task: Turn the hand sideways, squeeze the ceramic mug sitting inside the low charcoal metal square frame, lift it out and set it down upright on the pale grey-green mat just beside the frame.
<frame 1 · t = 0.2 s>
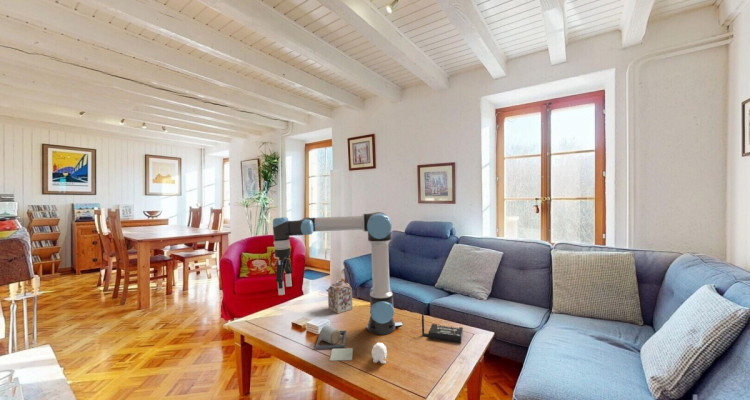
hand: (285, 290, 158), 27 cm above the table, tool pointing down, fingers open, 13 cm apart
decorative jar: (340, 309, 203), on the table
grey-green mat: (341, 354, 147), on the table
white figurine: (380, 359, 142), on the table
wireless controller: (442, 337, 163), on the table
square frame: (331, 340, 160), on the table
ceramic mug: (332, 341, 161), on the table
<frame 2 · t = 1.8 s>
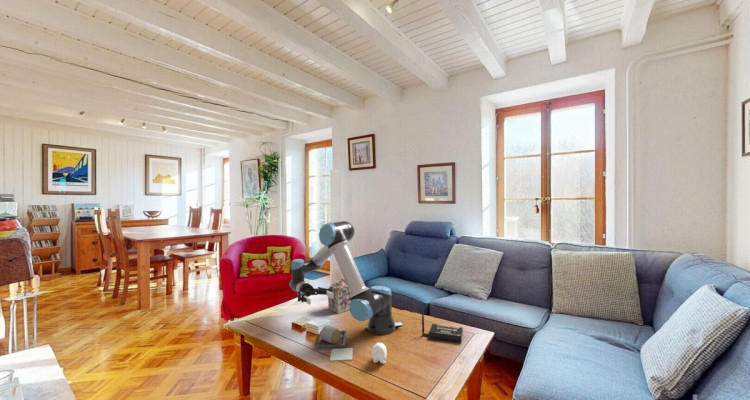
hand: (321, 299, 168), 19 cm above the table, tool horizontal, fingers open, 13 cm apart
nothing on the table moved.
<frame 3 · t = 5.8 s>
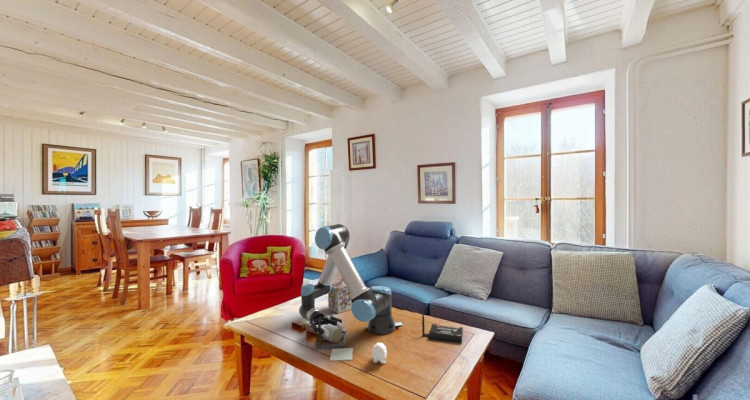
hand: (336, 331, 157), 7 cm above the table, tool horizontal, fingers closed on ceramic mug, 8 cm apart
ceramic mug: (334, 340, 162), on the table, touching gripper
everything else where it was.
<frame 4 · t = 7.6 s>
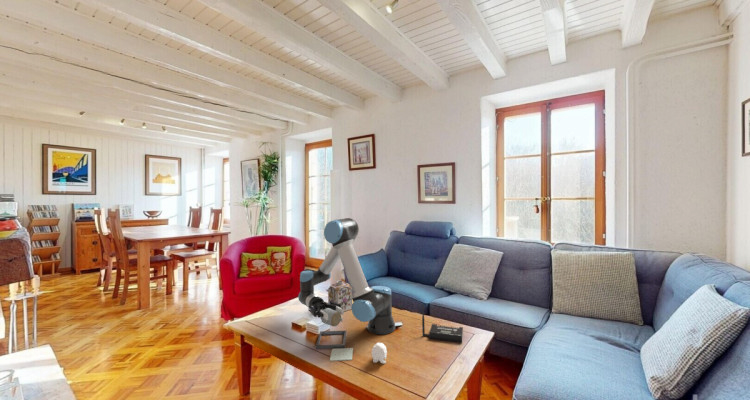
hand: (335, 314, 156), 15 cm above the table, tool horizontal, fingers closed on ceramic mug, 8 cm apart
ceramic mug: (333, 324, 161), point 8 cm above the table, touching gripper
everything else where it was.
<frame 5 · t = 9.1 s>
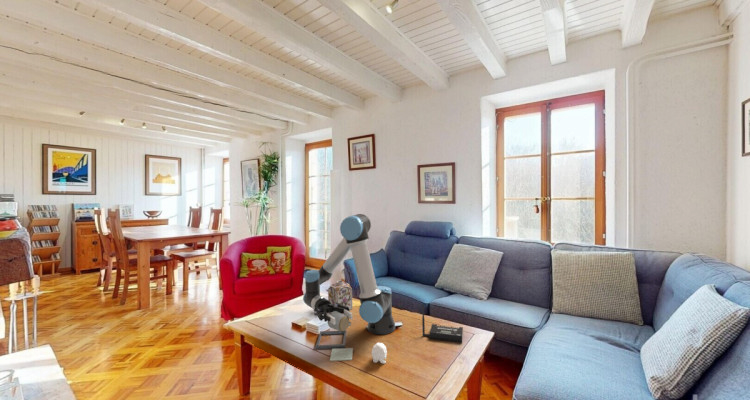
hand: (343, 318, 144), 18 cm above the table, tool horizontal, fingers closed on ceramic mug, 8 cm apart
ceramic mug: (340, 328, 149), point 11 cm above the table, touching gripper
everything else where it was.
when the fingers open (8 cm above the table, at t = 12.0 s): ceramic mug drops 2 cm, resting on grey-green mat.
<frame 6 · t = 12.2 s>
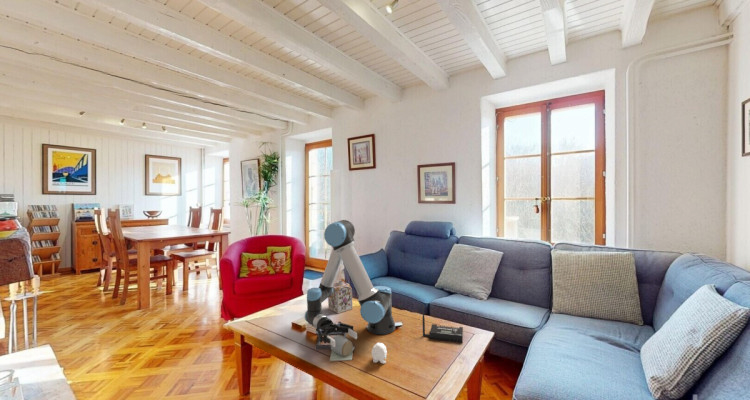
hand: (345, 339, 143), 8 cm above the table, tool horizontal, fingers open, 11 cm apart
ceramic mug: (343, 352, 148), resting on grey-green mat
everything else where it was.
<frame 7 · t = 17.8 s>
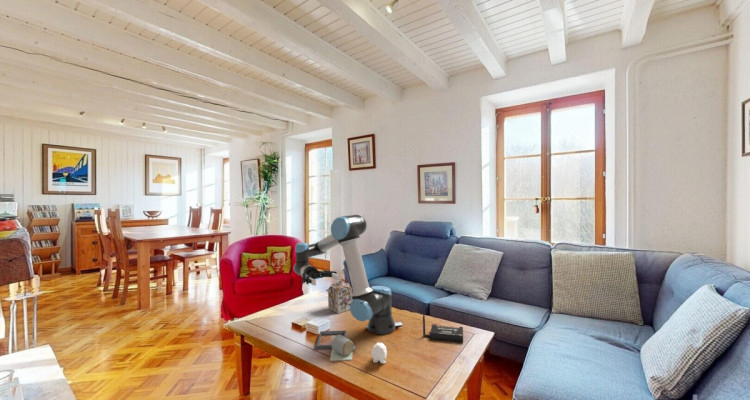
hand: (327, 280, 164), 30 cm above the table, tool horizontal, fingers open, 13 cm apart
nothing on the table moved.
at the end: ceramic mug inside the target area on the grey-green mat (2.1 cm from its centre), point 0.2 cm above the grey-green mat's base; ceramic mug tilted 2°; the gripper is holding nothing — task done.
